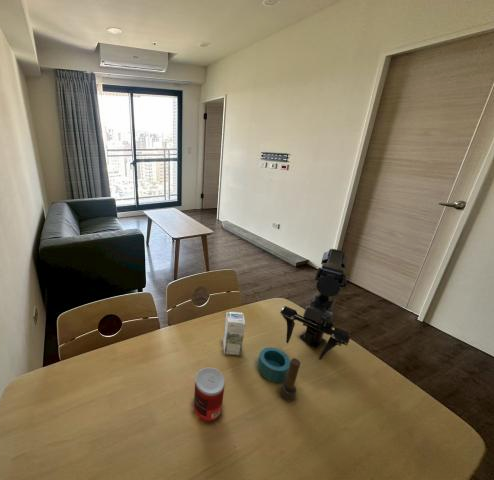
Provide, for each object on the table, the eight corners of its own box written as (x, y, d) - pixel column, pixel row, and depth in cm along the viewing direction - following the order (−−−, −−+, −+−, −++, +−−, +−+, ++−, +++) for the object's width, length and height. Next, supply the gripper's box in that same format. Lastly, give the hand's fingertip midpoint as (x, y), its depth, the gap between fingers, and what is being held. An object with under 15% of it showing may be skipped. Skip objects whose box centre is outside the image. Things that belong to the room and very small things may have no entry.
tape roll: (270, 354, 88) (273, 343, 86) (293, 374, 80) (296, 363, 78) (251, 365, 83) (253, 353, 82) (273, 387, 76) (276, 375, 74)
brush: (285, 385, 77) (294, 353, 72) (297, 396, 73) (306, 364, 68) (276, 391, 75) (284, 359, 70) (288, 403, 72) (297, 370, 67)
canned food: (223, 399, 72) (226, 371, 68) (218, 427, 65) (222, 398, 61) (197, 391, 75) (199, 363, 70) (190, 417, 68) (191, 388, 63)
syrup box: (238, 343, 92) (243, 311, 87) (240, 356, 87) (245, 323, 81) (222, 342, 93) (226, 310, 87) (224, 355, 87) (227, 321, 82)
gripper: (287, 284, 78) (267, 330, 75) (359, 310, 66) (338, 367, 63) (292, 294, 86) (273, 336, 83) (356, 320, 75) (338, 370, 71)
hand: (302, 351), depth 75 cm, fingers open, 9 cm apart
